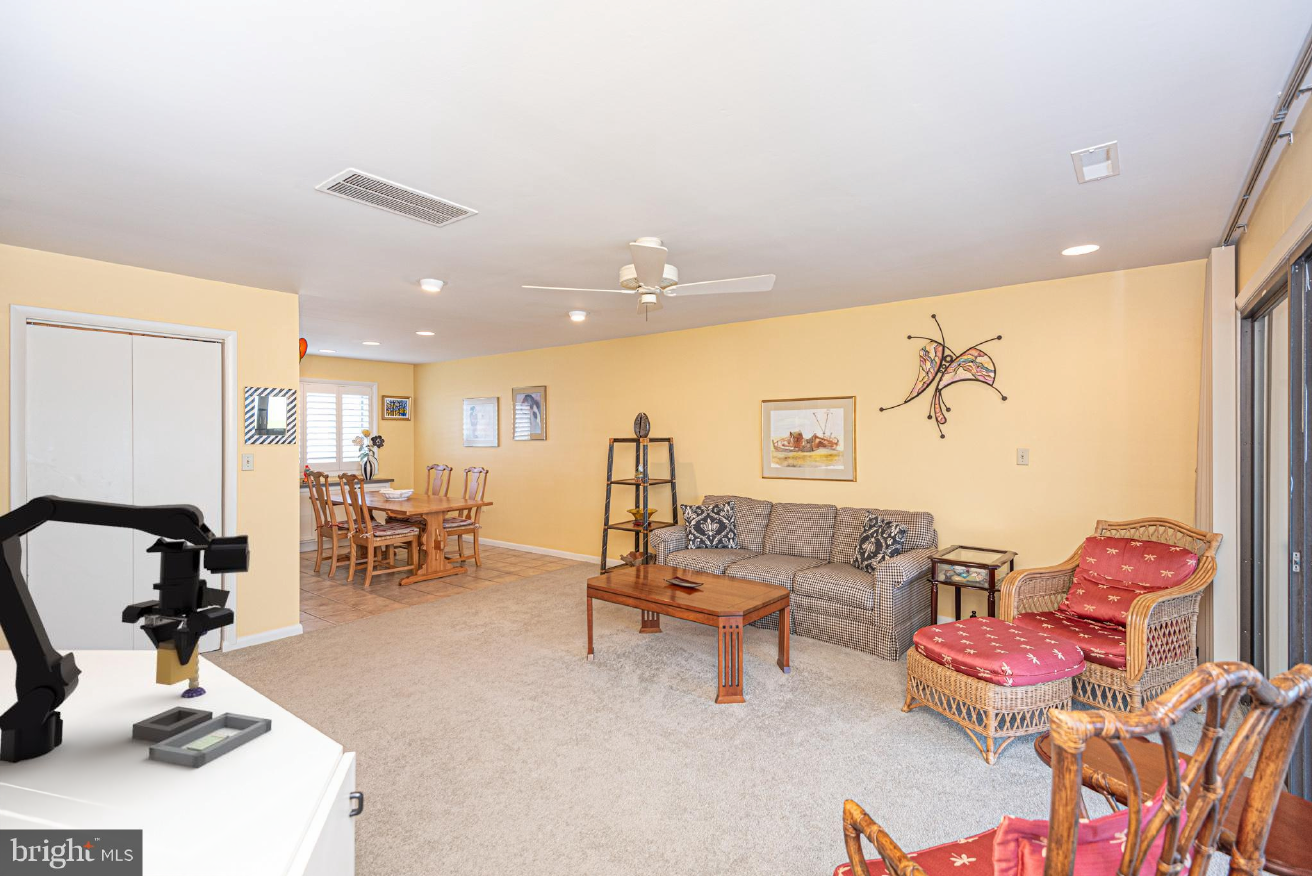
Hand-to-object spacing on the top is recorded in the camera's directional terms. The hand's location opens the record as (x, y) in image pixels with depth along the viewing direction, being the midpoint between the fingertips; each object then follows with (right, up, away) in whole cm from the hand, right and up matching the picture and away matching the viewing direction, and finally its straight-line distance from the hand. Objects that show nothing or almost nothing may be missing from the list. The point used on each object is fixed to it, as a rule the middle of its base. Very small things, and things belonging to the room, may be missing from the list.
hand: (176, 663), depth 112 cm
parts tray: (+9, -13, -4) cm, 16 cm away
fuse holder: (0, -13, 0) cm, 13 cm away
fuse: (+11, -12, -7) cm, 18 cm away
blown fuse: (0, -3, 0) cm, 3 cm away
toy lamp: (-9, -13, +16) cm, 22 cm away
